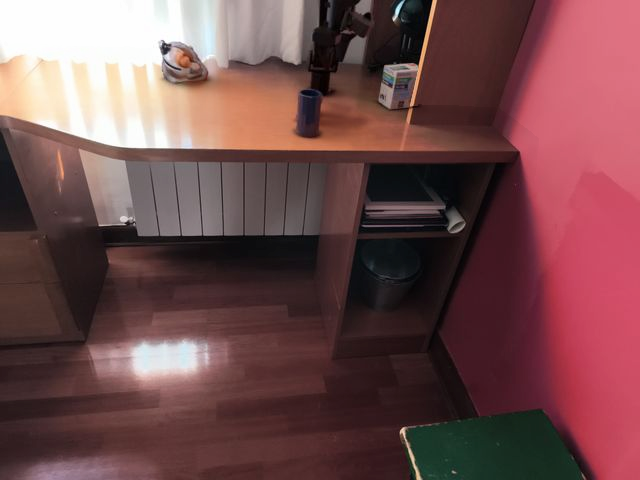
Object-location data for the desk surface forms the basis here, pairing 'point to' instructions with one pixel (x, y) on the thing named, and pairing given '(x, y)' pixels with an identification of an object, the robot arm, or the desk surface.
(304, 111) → the pencil cup
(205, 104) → the desk surface
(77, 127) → the desk surface
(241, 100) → the desk surface
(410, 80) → the light bulb box
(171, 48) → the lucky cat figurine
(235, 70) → the desk surface
